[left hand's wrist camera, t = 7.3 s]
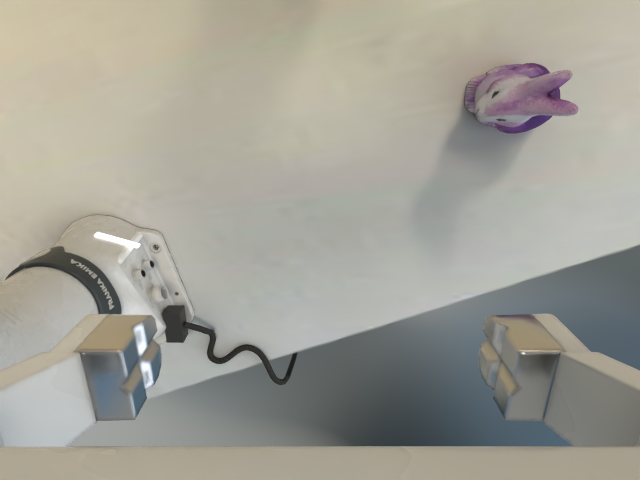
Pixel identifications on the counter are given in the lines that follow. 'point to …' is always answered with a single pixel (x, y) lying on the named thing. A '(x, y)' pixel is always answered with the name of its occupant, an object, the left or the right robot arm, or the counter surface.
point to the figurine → (518, 97)
